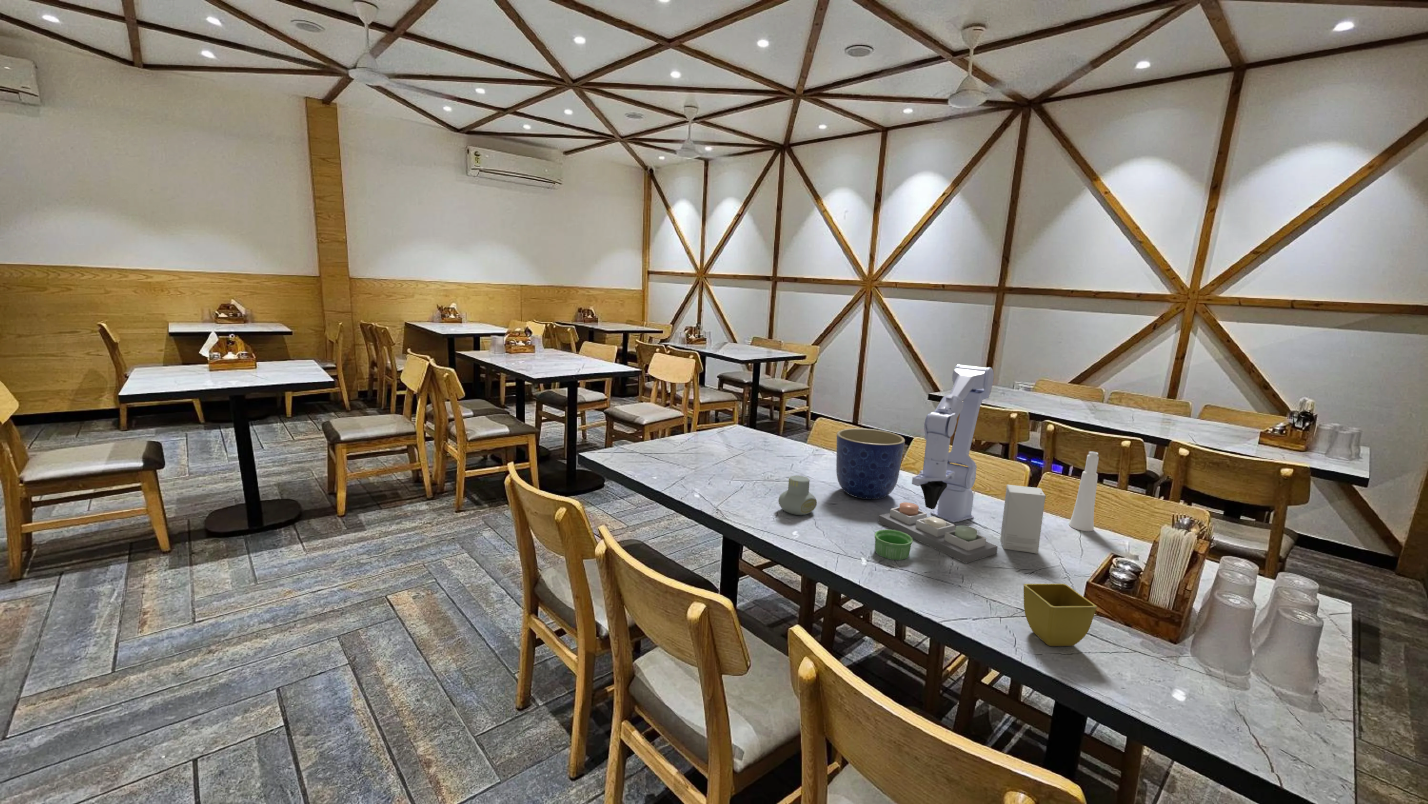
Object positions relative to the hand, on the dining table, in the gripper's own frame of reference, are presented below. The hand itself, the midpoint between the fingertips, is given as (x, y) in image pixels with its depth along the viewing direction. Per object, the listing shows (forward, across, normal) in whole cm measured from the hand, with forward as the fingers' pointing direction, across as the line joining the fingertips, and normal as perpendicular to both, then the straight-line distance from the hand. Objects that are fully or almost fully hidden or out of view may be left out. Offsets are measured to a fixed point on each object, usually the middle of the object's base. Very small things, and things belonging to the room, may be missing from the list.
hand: (930, 507), depth 155 cm
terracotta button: (+4, 0, -7) cm, 8 cm away
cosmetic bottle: (+8, -45, +17) cm, 49 cm away
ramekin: (+8, +18, +4) cm, 20 cm away
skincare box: (+8, -15, +16) cm, 23 cm away
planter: (+8, -8, -31) cm, 33 cm away
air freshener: (+8, +22, -28) cm, 36 cm away
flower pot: (+8, +20, +44) cm, 49 cm away
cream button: (+5, 0, +2) cm, 6 cm away
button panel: (+7, 0, +2) cm, 8 cm away
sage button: (+4, 0, +11) cm, 12 cm away
